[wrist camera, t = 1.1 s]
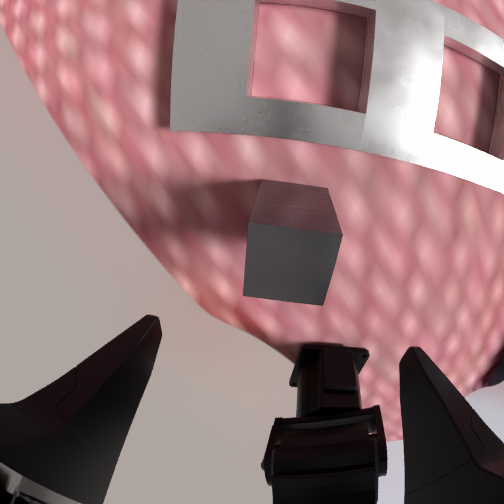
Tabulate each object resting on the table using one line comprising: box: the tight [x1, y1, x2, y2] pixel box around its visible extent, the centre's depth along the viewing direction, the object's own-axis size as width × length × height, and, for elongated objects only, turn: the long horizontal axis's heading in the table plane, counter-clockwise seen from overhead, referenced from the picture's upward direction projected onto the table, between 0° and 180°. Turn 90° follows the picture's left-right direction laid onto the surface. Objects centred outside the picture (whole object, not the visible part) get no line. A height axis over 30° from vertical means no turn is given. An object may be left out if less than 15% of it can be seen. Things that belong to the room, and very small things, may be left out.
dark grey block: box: [243, 179, 343, 306], centre depth 16 cm, size 4×4×6 cm
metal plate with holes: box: [170, 0, 504, 193], centre depth 11 cm, size 10×24×2 cm, turn 86°
